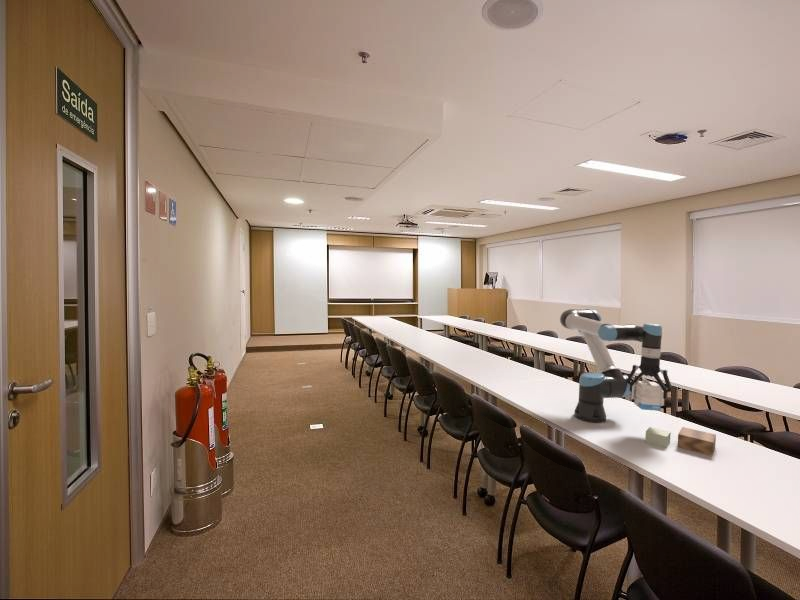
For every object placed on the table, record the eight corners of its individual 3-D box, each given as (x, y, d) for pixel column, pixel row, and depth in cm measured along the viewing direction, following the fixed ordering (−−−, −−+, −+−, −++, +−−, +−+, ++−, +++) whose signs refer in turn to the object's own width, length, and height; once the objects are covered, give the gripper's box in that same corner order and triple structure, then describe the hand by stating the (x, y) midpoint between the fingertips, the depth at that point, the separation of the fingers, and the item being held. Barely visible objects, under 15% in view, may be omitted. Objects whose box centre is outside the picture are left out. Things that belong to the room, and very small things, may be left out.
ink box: (661, 411, 177) (663, 382, 176) (641, 409, 179) (643, 381, 178) (652, 405, 186) (654, 378, 185) (633, 403, 187) (635, 376, 187)
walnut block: (677, 447, 168) (678, 434, 168) (681, 439, 177) (682, 426, 176) (712, 456, 160) (713, 442, 159) (715, 447, 168) (716, 434, 168)
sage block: (645, 442, 173) (645, 431, 172) (649, 437, 178) (649, 426, 178) (666, 448, 167) (667, 436, 167) (669, 442, 173) (670, 431, 172)
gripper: (620, 353, 187) (617, 397, 188) (679, 362, 170) (675, 410, 171) (625, 351, 192) (622, 394, 193) (682, 360, 175) (679, 406, 176)
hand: (647, 401), depth 182 cm, fingers closed on ink box, 11 cm apart
